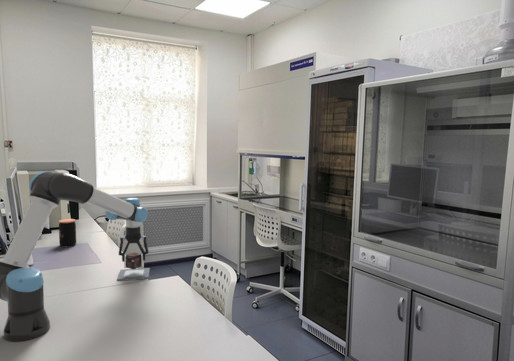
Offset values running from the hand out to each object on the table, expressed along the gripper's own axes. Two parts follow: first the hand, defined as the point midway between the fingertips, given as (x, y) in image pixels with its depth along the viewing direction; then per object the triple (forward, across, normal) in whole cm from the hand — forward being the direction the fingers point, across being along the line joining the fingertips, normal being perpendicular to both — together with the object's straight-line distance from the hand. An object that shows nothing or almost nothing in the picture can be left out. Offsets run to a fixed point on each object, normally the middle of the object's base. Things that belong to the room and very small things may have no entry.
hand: (134, 266), depth 207 cm
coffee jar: (+5, +51, -73) cm, 89 cm away
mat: (+5, 0, 0) cm, 5 cm away
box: (0, 0, 0) cm, 0 cm away
